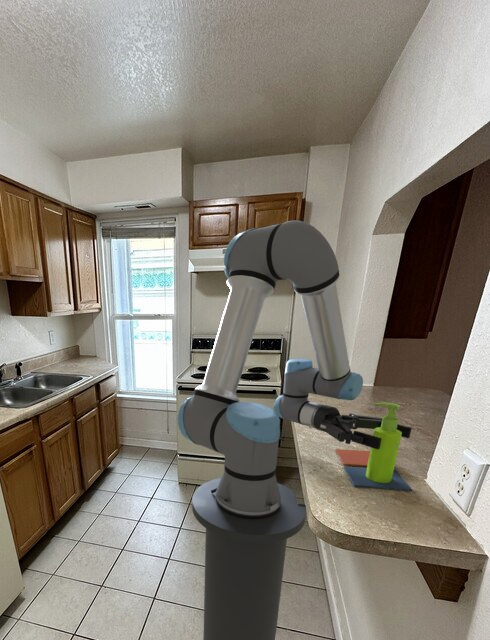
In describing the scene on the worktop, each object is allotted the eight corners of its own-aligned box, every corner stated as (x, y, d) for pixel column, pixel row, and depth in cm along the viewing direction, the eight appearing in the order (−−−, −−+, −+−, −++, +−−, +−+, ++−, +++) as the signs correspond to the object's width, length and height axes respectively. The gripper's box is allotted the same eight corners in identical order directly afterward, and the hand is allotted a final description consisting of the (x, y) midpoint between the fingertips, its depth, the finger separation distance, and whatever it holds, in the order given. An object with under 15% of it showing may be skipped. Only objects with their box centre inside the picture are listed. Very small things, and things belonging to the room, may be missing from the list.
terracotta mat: (344, 465, 101) (344, 463, 101) (335, 450, 111) (335, 449, 111) (394, 468, 99) (394, 467, 98) (380, 453, 109) (381, 451, 108)
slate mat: (354, 486, 90) (354, 484, 89) (343, 468, 100) (344, 466, 99) (411, 491, 87) (412, 489, 87) (395, 471, 97) (395, 470, 97)
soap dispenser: (366, 469, 97) (380, 399, 90) (394, 477, 92) (411, 404, 85) (357, 476, 94) (371, 403, 87) (386, 485, 89) (403, 409, 82)
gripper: (344, 421, 111) (417, 442, 94) (289, 437, 99) (362, 463, 82) (348, 398, 109) (424, 415, 91) (292, 411, 97) (368, 433, 79)
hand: (395, 438), depth 87 cm, fingers open, 13 cm apart
